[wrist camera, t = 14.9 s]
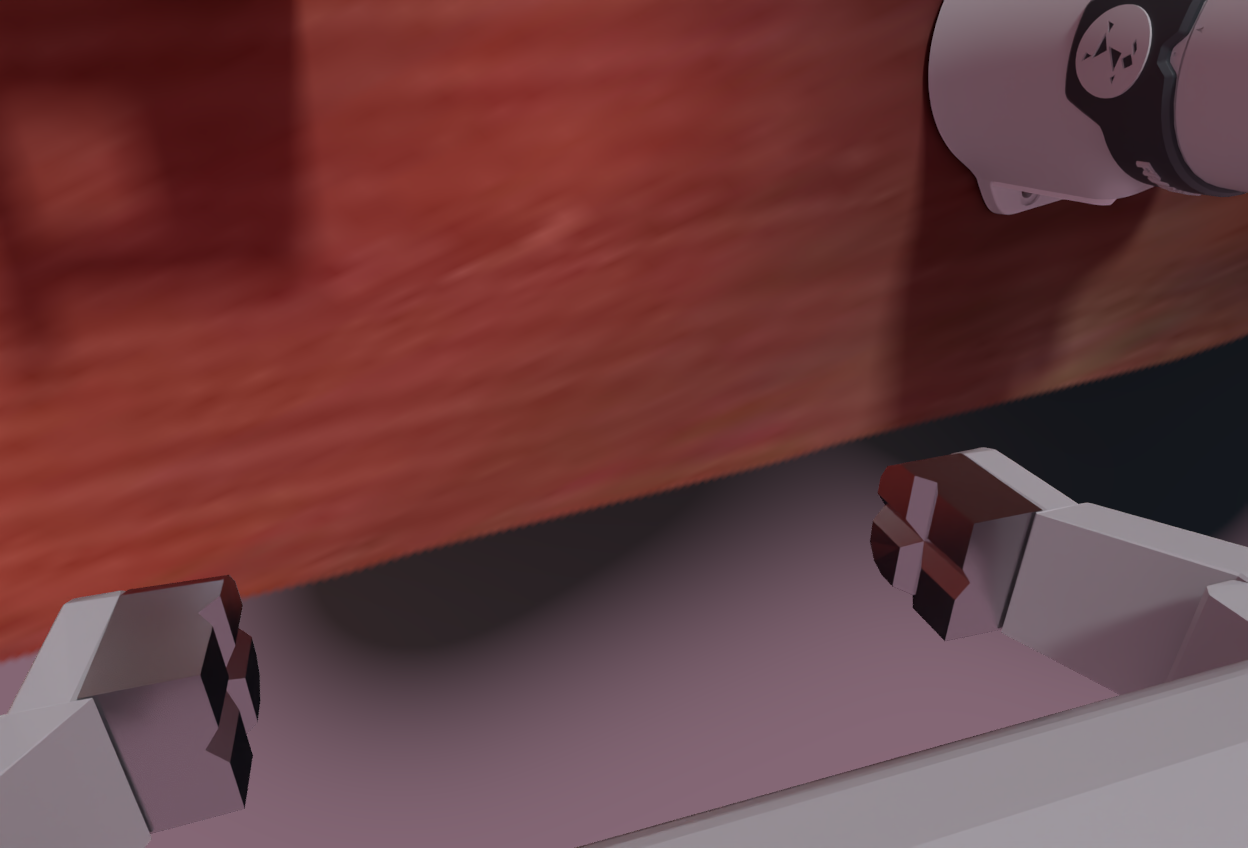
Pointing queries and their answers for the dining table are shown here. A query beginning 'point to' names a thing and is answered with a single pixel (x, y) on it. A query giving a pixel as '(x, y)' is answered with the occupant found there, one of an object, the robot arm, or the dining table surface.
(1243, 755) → the robot arm
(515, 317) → the dining table surface
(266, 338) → the dining table surface
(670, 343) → the dining table surface
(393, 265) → the dining table surface
